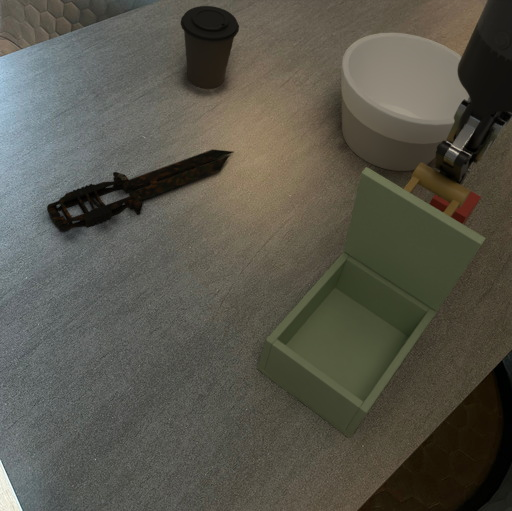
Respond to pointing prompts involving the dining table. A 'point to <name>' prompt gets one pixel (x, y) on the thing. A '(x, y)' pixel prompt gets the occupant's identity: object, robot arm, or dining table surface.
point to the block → (460, 213)
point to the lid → (412, 233)
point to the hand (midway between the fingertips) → (443, 191)
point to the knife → (128, 185)
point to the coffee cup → (208, 44)
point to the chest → (344, 342)
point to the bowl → (399, 98)
